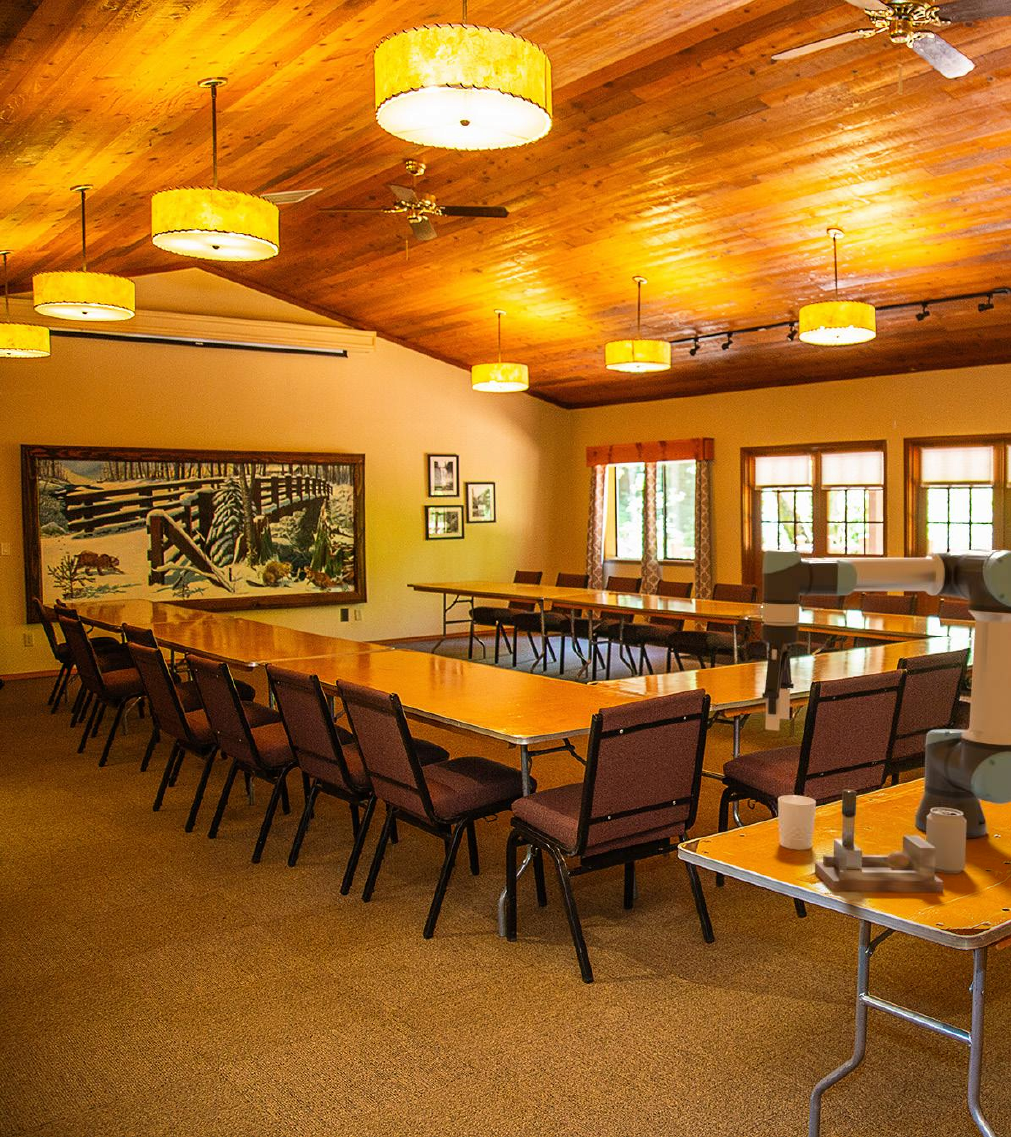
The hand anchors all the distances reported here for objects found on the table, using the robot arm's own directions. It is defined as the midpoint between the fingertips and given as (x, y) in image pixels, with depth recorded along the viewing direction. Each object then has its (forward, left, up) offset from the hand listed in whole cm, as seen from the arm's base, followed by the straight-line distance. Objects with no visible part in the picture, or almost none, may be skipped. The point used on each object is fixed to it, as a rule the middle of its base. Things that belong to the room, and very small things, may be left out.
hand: (777, 724), depth 218 cm
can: (-32, +9, -28) cm, 44 cm away
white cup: (-6, -6, -28) cm, 29 cm away
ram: (-9, +17, -25) cm, 32 cm away
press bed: (-15, +17, -28) cm, 36 cm away
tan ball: (-19, +17, -26) cm, 36 cm away
